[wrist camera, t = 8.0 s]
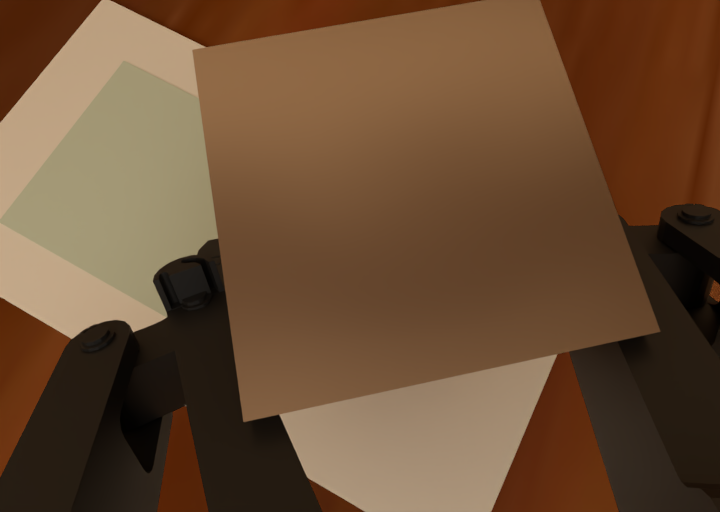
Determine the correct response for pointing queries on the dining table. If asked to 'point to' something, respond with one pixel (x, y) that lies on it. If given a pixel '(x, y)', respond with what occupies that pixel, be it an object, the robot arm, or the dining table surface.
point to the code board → (184, 238)
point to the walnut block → (407, 205)
